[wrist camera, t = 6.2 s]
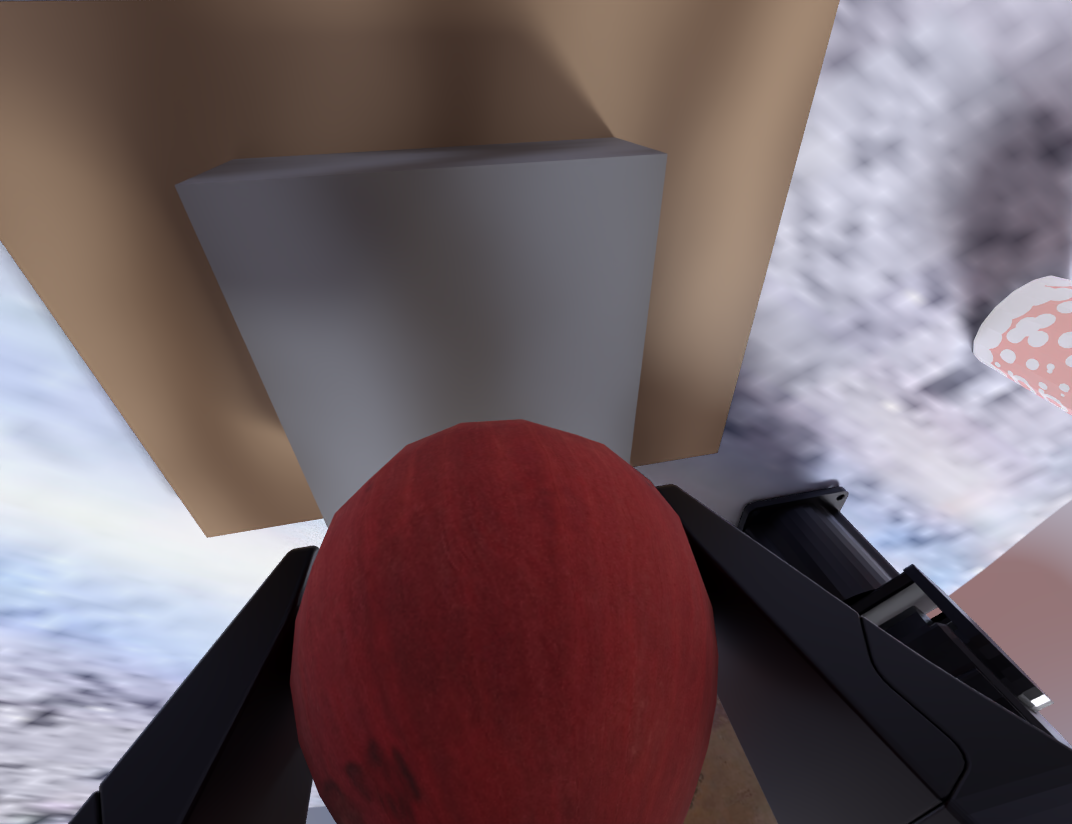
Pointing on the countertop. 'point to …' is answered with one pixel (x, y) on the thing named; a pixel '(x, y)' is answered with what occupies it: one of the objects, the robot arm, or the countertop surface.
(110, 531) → the countertop surface
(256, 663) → the robot arm
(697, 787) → the jug
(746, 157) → the stacking base
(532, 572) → the onion
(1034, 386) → the beverage cup
